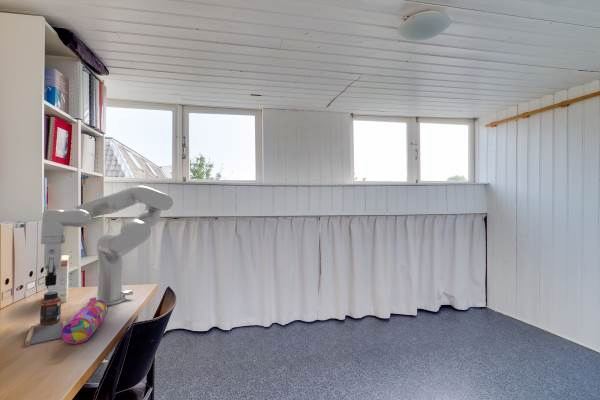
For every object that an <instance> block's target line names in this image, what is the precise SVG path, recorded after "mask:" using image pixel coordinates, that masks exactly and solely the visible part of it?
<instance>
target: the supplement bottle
mask: <svg viewBox="0 0 600 400" xmlns="http://www.w3.org/2000/svg"><path fill="white" fill-rule="evenodd" d="M61 307H62V304H61V298H60V297H58V292H56V291H54V292H48V291H47V292H45V293H44V294H43V299H41V300H40V306H39V309H40V310H39V311H40V312H39V324H40V325H43V326H50V325H54V324H57V323H58V322H59V321H61V314H62V313H61V312H62V310H61Z"/></svg>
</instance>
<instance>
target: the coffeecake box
mask: <svg viewBox="0 0 600 400" xmlns="http://www.w3.org/2000/svg"><path fill="white" fill-rule="evenodd" d="M69 261H70V255H69V254H64V255H63V254H62V256H61V267H60V268H58V267H57V268H56V274H57V275H56V285H53V286H47V293H48V292H54V291H56V292H58V297H60V298H61V303H66V302H67V301H68V296H69V274H70V273H69V271H70V270H69V268H70V266H69V264H70V262H69Z"/></svg>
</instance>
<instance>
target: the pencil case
mask: <svg viewBox="0 0 600 400" xmlns="http://www.w3.org/2000/svg"><path fill="white" fill-rule="evenodd" d="M96 299H97V297H92V298H91V297H90V298H89V301H88V302H86V303H85V304H84V305H82V306H81V307H82V308H81V309H79V311H78V312H77V313H76V314H75V315H74V316H73V317H72V318H71V319H70V320H68V321H67V323H66V324H65V325H64V326H63V327H62V329H61V335H62V337H63V338H62V340H64V342H66V343H67V344H72V345H73V344H74V345H75V344H76V345H77V344H82V343H84V342H86V341H87V340H89V339H90V338H91V337H92V335H93V334H94V332H95V331H96V330H97V329H98V327H99V326H100V324H101V323H102V322H103V321H104V320H105V318H106V316H107V314H108V307H107V306H106V304H105V302H104V301H102V300H96Z"/></svg>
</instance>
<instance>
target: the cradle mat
mask: <svg viewBox="0 0 600 400" xmlns="http://www.w3.org/2000/svg"><path fill="white" fill-rule="evenodd" d="M67 320H68V319H63V321H62V323H55V324H50V325H45V326H40V327H36V328H35V325H30V327H29V331H28V333H27V336H26V338H25V342H24V347H29V346H33V345H37V344H42V343H47V342H52V341H56V340H61V339H62V340H63V337H62V335H61V329H62V327H63V326H64V325H65V324H66V323H67V322H68V321H67Z"/></svg>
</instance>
